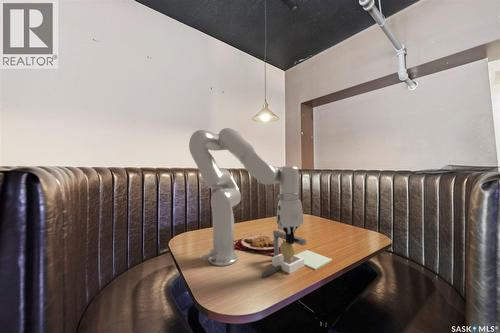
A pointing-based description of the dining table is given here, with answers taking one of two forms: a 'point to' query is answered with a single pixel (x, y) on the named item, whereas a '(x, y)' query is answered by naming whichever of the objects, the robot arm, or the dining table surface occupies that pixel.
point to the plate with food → (258, 244)
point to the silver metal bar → (283, 236)
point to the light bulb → (287, 251)
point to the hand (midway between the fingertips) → (289, 242)
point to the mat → (313, 259)
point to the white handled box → (279, 263)
